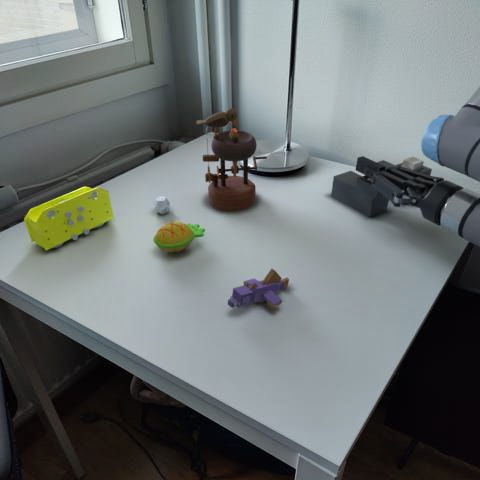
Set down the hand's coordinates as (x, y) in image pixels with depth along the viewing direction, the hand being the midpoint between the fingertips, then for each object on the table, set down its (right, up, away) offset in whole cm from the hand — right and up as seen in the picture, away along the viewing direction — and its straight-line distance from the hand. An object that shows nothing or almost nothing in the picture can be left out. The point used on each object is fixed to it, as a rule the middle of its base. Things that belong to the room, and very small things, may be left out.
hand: (359, 163), depth 97 cm
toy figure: (-22, -30, -21) cm, 42 cm away
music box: (-26, -6, +6) cm, 28 cm away
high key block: (+1, -7, +5) cm, 9 cm away
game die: (-42, -10, +3) cm, 43 cm away
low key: (+12, -1, +2) cm, 12 cm away
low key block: (+10, -3, +9) cm, 13 cm away
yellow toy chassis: (-58, -16, -4) cm, 61 cm away
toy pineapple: (-37, -19, -8) cm, 42 cm away
